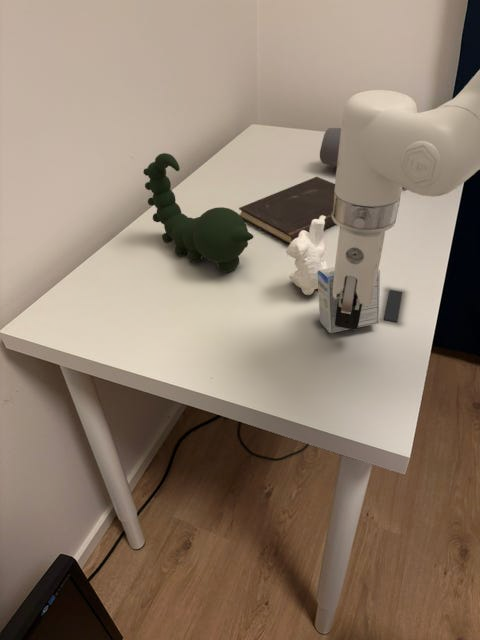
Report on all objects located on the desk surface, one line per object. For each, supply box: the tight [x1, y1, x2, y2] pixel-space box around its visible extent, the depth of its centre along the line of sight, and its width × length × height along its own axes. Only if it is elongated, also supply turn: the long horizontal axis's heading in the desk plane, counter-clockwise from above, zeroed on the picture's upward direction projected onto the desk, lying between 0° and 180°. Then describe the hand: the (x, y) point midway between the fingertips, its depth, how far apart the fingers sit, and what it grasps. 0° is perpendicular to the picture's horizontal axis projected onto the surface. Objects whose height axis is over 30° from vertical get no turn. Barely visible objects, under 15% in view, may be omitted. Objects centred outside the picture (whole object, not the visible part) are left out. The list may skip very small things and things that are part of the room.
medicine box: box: [317, 266, 381, 334], centre depth 71 cm, size 8×4×9 cm, turn 103°
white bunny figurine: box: [285, 215, 329, 296], centre depth 78 cm, size 8×7×12 cm
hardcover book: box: [238, 176, 337, 246], centre depth 102 cm, size 16×23×2 cm
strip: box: [383, 289, 403, 323], centre depth 77 cm, size 2×8×1 cm, turn 160°
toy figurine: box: [142, 152, 254, 273], centre depth 85 cm, size 9×19×25 cm
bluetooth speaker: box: [319, 127, 341, 168], centre depth 113 cm, size 23×9×10 cm, turn 58°
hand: (346, 324), depth 69 cm, fingers closed
